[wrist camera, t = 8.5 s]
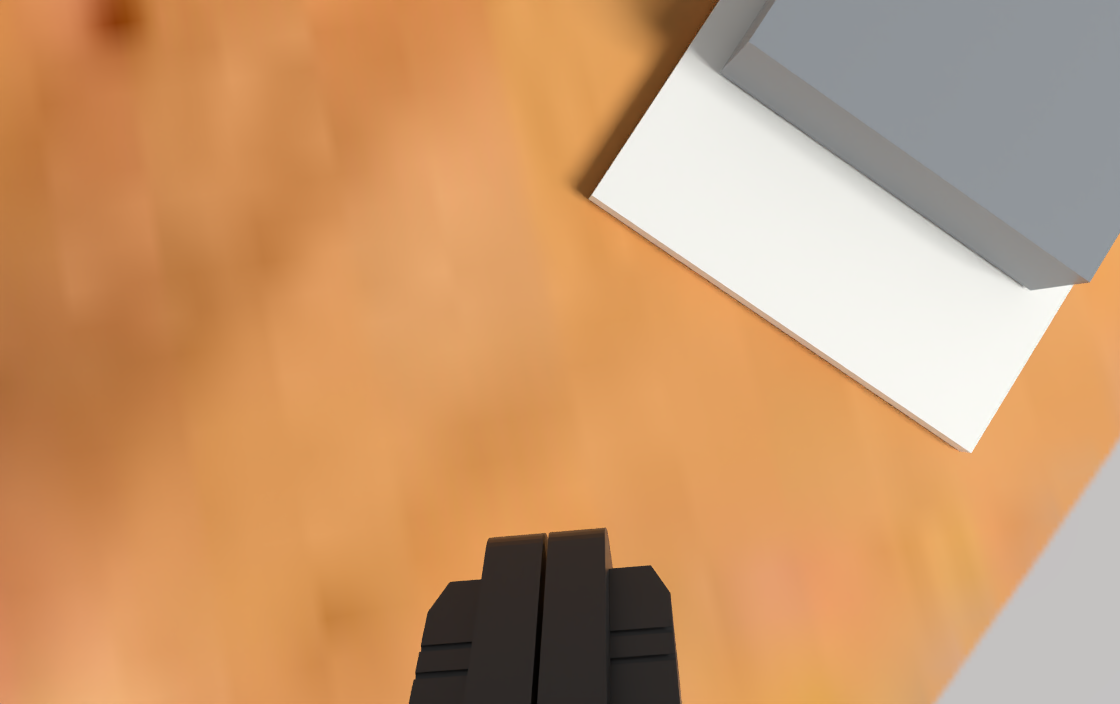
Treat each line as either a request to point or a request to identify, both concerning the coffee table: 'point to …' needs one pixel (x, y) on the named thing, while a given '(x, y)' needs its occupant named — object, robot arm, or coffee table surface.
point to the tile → (962, 114)
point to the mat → (821, 245)
